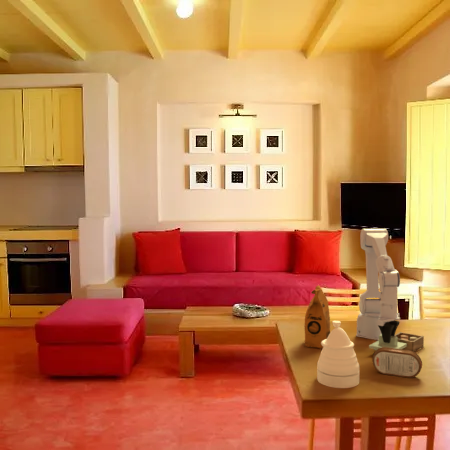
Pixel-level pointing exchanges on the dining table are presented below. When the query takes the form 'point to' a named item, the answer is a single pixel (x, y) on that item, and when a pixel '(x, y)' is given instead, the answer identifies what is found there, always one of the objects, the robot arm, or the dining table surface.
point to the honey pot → (338, 360)
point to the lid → (392, 344)
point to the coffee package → (317, 320)
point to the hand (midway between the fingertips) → (388, 341)
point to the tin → (397, 362)
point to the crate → (411, 341)
